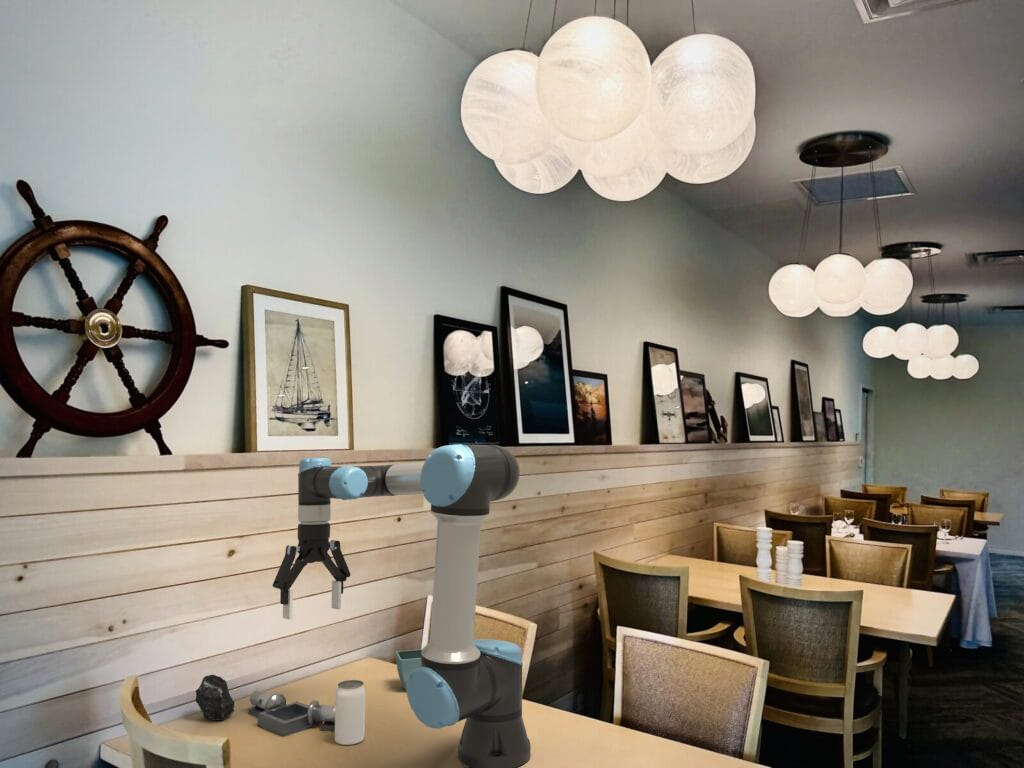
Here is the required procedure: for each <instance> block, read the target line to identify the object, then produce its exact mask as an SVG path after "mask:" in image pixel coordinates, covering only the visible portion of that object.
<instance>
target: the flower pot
mask: <svg viewBox="0 0 1024 768" xmlns="http://www.w3.org/2000/svg"><path fill="white" fill-rule="evenodd" d="M422 649H423V648H420V649H410V650H398V651H395V657H396V658H395V659H396V668H397V669H396V671H397V674H398V677H399V680H400V683H401V684H402V686H403V689H404V690H405V692H407V680H408V677H409V675H410V674H411V673H412V672H413V671H414V670H415V669H416V668H418V667H420V666H421V652H422Z"/></svg>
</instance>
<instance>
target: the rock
mask: <svg viewBox="0 0 1024 768" xmlns="http://www.w3.org/2000/svg"><path fill="white" fill-rule="evenodd" d="M195 695H196V696H195V702H196V704H197V705H198V707H199V708H200V712H202V715H203V717H204V718H205V719H209V718H210V719H211V720H213V721H222V720H223V721H224V720H225V718H227V717H229V716H230V715H232V714H233V713H234V712H235V700H233V698H232V696H231V693H230V689H229V687H228V683H227V680H225V679H223V677H221V676H218V675H216V674H209V675H206V676H204V677H202V679H201V683H200V685H199V687H198V688H197V689H196V690H195Z"/></svg>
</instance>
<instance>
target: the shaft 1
mask: <svg viewBox="0 0 1024 768" xmlns="http://www.w3.org/2000/svg"><path fill="white" fill-rule="evenodd" d="M249 703H250V705H251V706H252V707H249V708H247V709H248V710H247V711H248V712H247V714H248V715H250V716H253V717H255V718H257V719H258V713H260V712H264V711H267V710H270V709H273V708H277V707H280V706H283V705H286V704H287V698H286V697H285V695H284V694H282V693H274V694H271V693H268V692H265V691H262V690H261V689H256V690H254V691H253V692H252V693H251V694H250V697H249Z"/></svg>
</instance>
